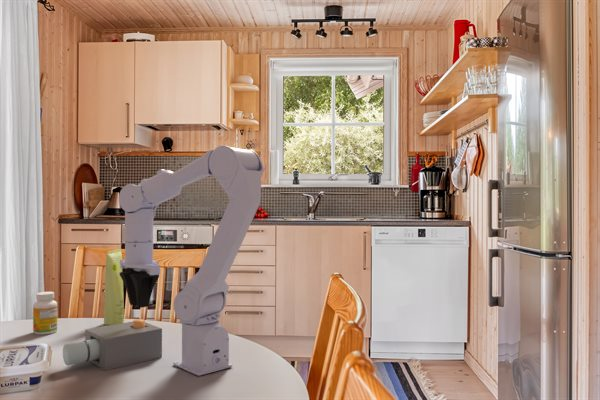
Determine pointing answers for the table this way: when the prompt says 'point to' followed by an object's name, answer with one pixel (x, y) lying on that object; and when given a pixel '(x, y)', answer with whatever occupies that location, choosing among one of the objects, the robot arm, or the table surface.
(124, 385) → the table surface
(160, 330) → the housing
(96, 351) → the cylinder
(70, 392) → the table surface
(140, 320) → the plunger
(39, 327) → the supplement bottle
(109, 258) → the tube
